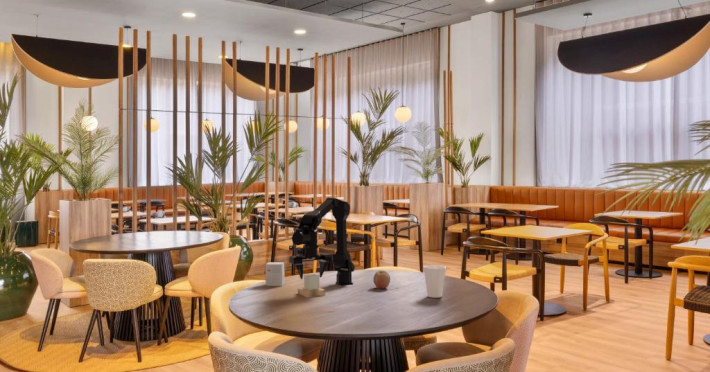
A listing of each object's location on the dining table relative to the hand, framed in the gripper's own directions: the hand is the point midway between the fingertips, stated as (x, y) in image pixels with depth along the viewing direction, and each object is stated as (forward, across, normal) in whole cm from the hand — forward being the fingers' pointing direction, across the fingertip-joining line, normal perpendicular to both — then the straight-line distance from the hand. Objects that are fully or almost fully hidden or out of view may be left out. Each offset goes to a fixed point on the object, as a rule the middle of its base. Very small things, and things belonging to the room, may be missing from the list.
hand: (311, 278), depth 258 cm
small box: (+8, +6, -28) cm, 30 cm away
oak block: (+8, 0, 0) cm, 8 cm away
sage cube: (+5, 0, 0) cm, 5 cm away
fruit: (+7, -34, +4) cm, 35 cm away
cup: (+7, -44, +31) cm, 54 cm away
